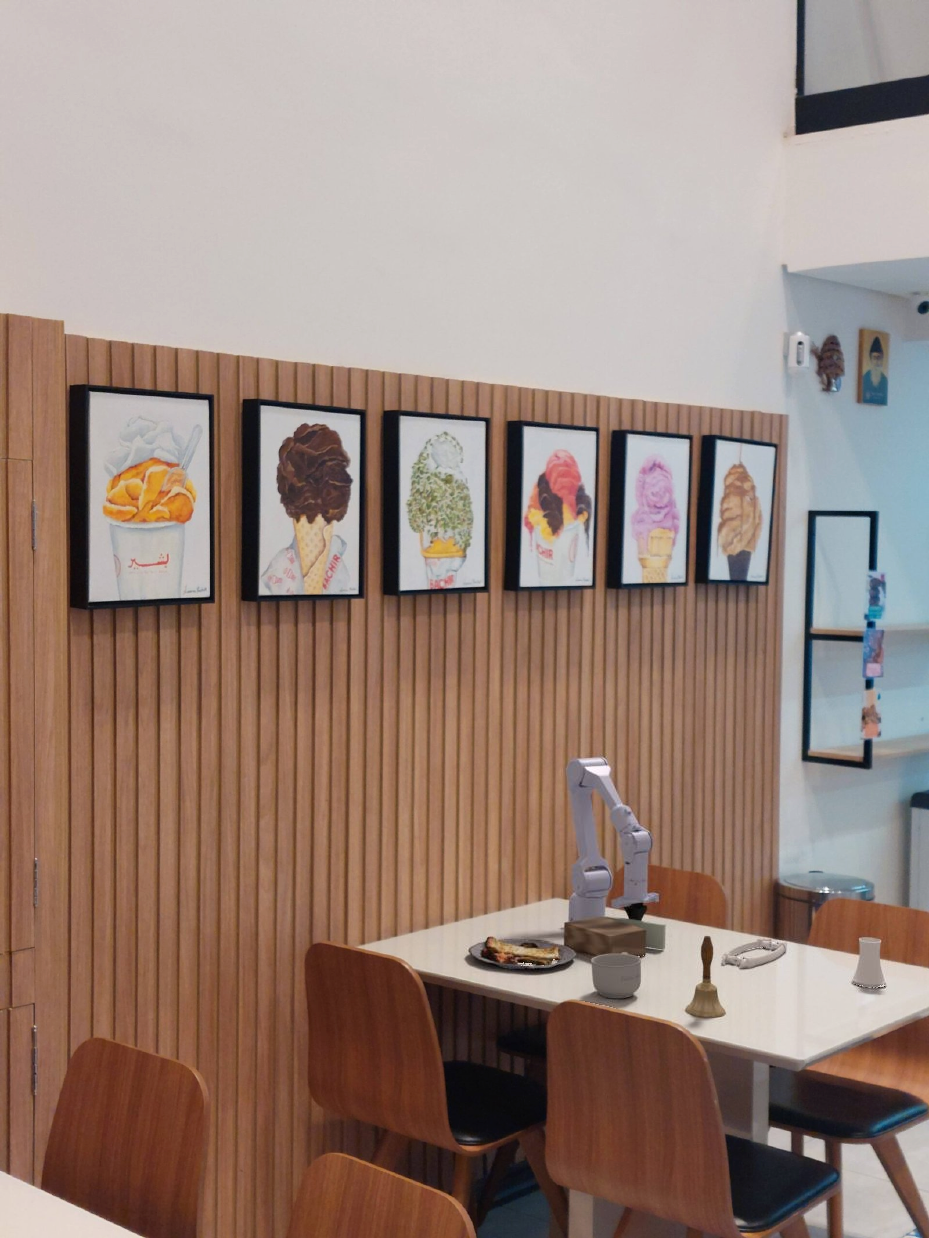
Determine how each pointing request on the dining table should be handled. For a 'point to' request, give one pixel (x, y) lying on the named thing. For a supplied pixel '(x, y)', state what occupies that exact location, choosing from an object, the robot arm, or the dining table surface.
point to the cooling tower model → (869, 964)
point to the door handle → (750, 961)
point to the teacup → (616, 974)
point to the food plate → (521, 953)
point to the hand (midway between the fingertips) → (634, 933)
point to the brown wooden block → (604, 937)
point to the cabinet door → (647, 931)
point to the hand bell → (706, 988)
